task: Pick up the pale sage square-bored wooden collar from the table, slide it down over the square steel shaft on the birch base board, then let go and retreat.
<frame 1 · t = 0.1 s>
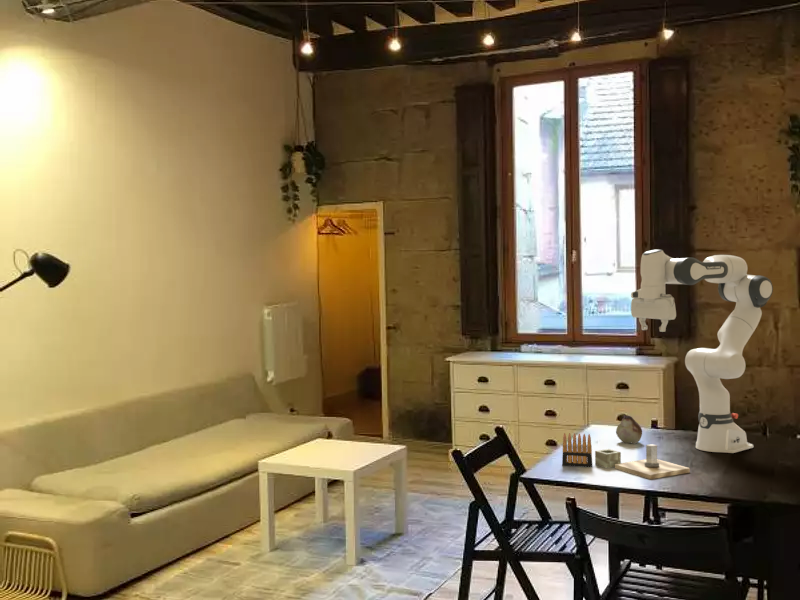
hand: (653, 330, 324), 48 cm above the table, fingers open, 8 cm apart
collar: (607, 465, 318), on the table
ammunition clip: (577, 466, 318), on the table
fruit: (629, 443, 354), on the table
shaft board: (651, 470, 309), on the table
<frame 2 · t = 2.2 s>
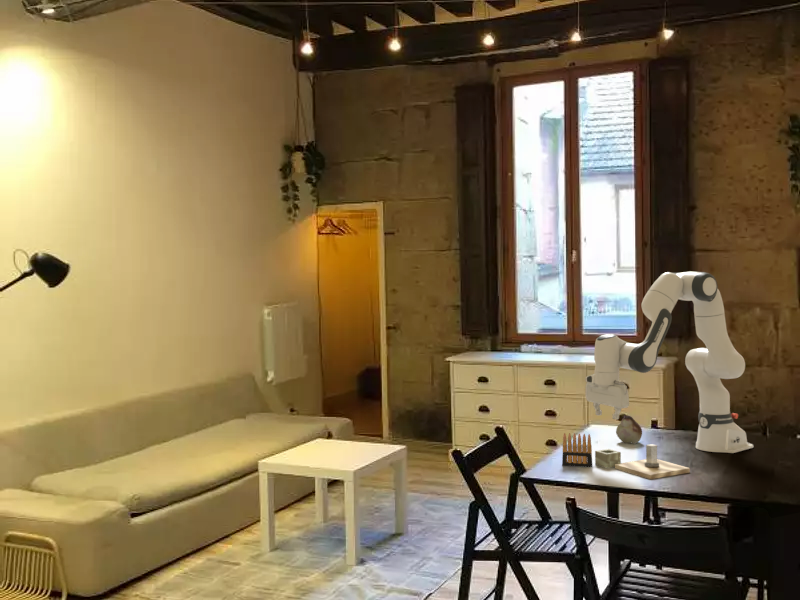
hand: (607, 417, 317), 18 cm above the table, fingers open, 8 cm apart
nothing on the table moved.
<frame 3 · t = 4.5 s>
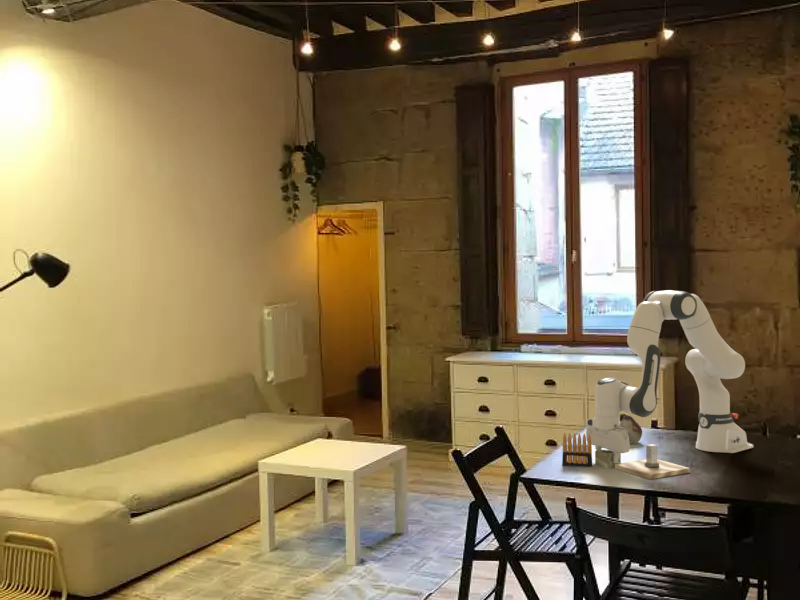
hand: (607, 460, 317), 2 cm above the table, fingers closed on collar, 6 cm apart
collar: (607, 465, 318), on the table, touching gripper
everything else where it was.
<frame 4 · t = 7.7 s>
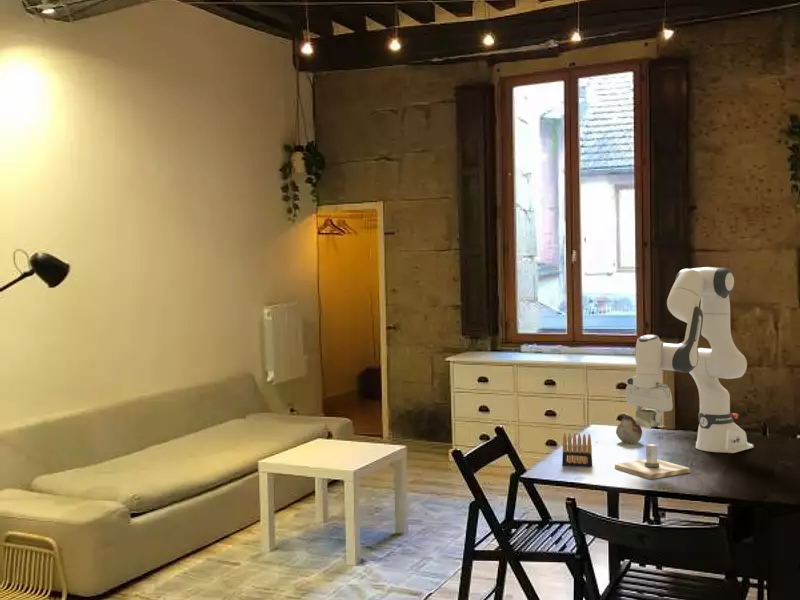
hand: (649, 420, 308), 18 cm above the table, fingers closed on collar, 6 cm apart
collar: (649, 424, 308), point 16 cm above the table, touching gripper
everything else where it was.
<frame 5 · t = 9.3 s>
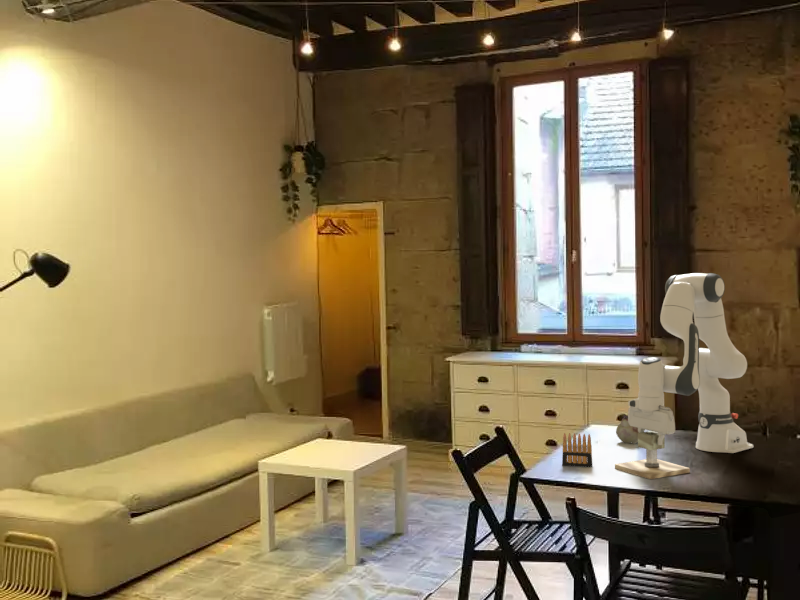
hand: (651, 442, 308), 10 cm above the table, fingers closed on collar, 6 cm apart
collar: (651, 447, 308), point 8 cm above the table, touching gripper
everything else where it was.
when the fingers open (5 cm above the table, at t = 10.9 s): collar stays where it is, resting on shaft board.
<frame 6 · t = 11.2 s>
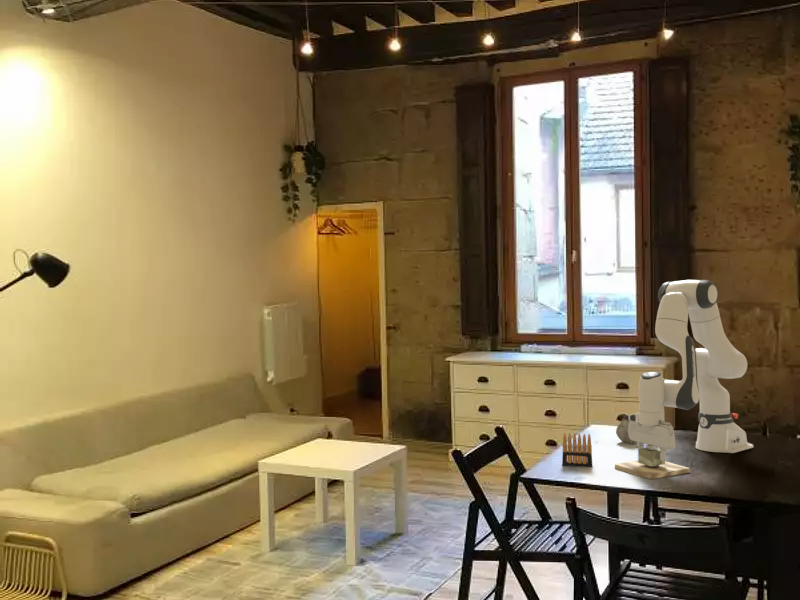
hand: (651, 457, 308), 5 cm above the table, fingers open, 8 cm apart
collar: (651, 463, 308), point 2 cm above the table, touching shaft board
everything else where it was.
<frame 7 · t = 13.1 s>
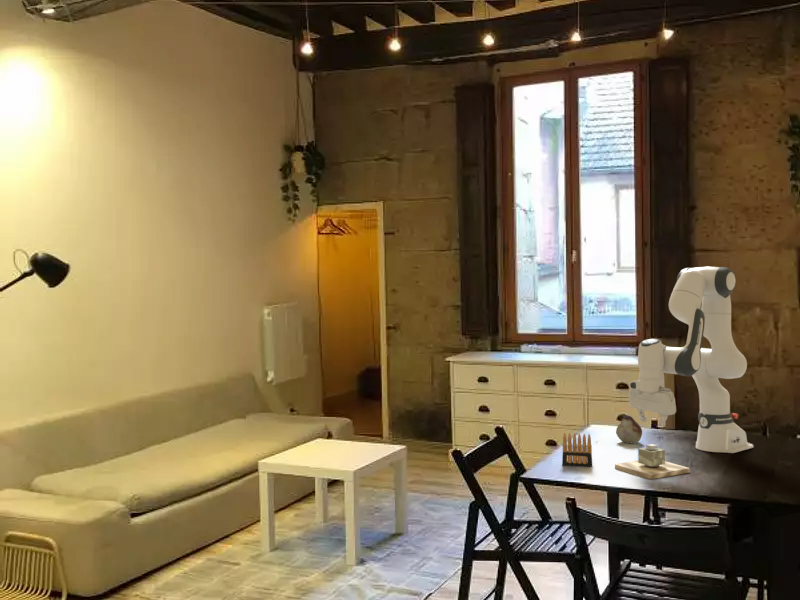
hand: (652, 423, 311), 16 cm above the table, fingers open, 8 cm apart
nothing on the table moved.
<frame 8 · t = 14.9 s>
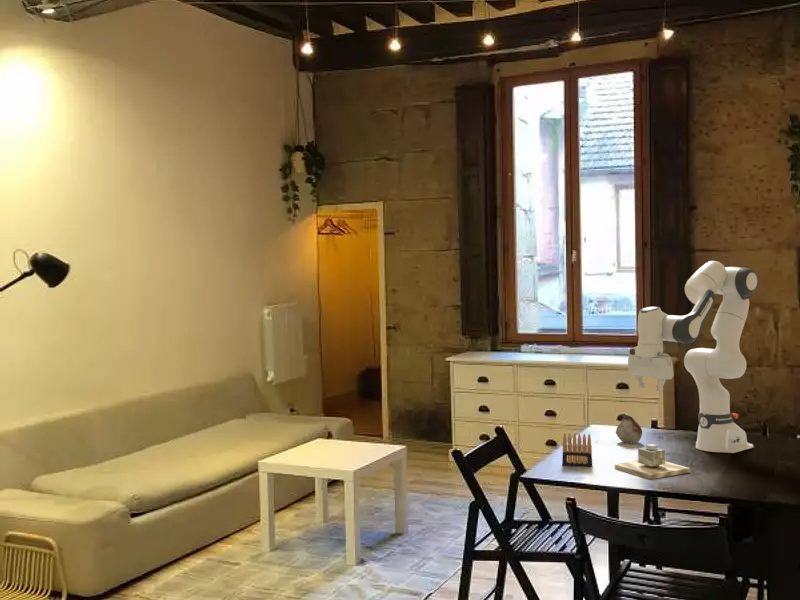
hand: (650, 389, 319), 27 cm above the table, fingers open, 8 cm apart
nothing on the table moved.
at the end: collar 0.0 cm off-centre on the shaft board, point 2.5 cm above the shaft board's base; collar tilted 0°; the gripper is holding nothing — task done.
